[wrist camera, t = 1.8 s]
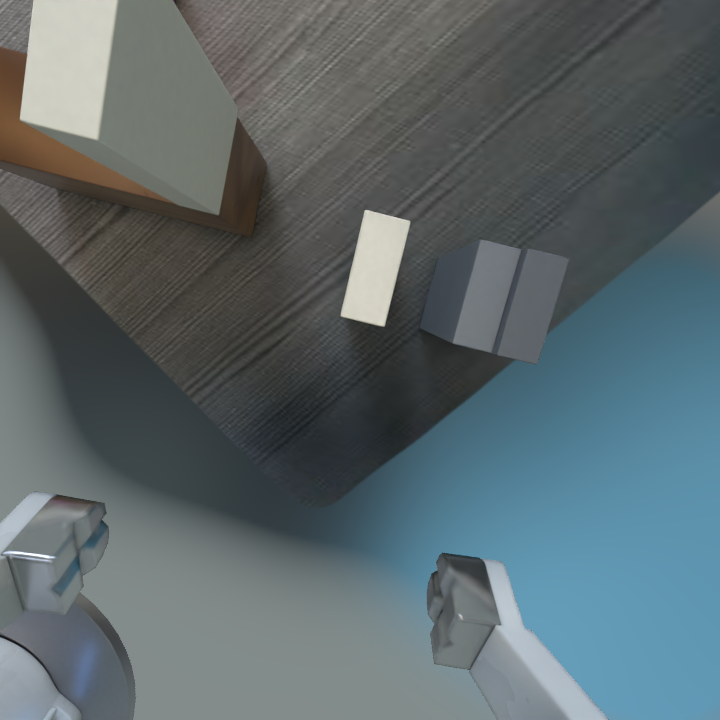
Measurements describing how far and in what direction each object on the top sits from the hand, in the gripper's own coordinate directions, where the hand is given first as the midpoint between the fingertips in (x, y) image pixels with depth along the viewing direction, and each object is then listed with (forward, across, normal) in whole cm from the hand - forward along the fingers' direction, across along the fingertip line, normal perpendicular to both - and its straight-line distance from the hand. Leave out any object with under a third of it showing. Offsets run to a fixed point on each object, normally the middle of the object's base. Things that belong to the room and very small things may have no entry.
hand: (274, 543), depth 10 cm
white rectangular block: (+28, +2, -1) cm, 28 cm away
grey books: (+27, +10, -2) cm, 29 cm away
